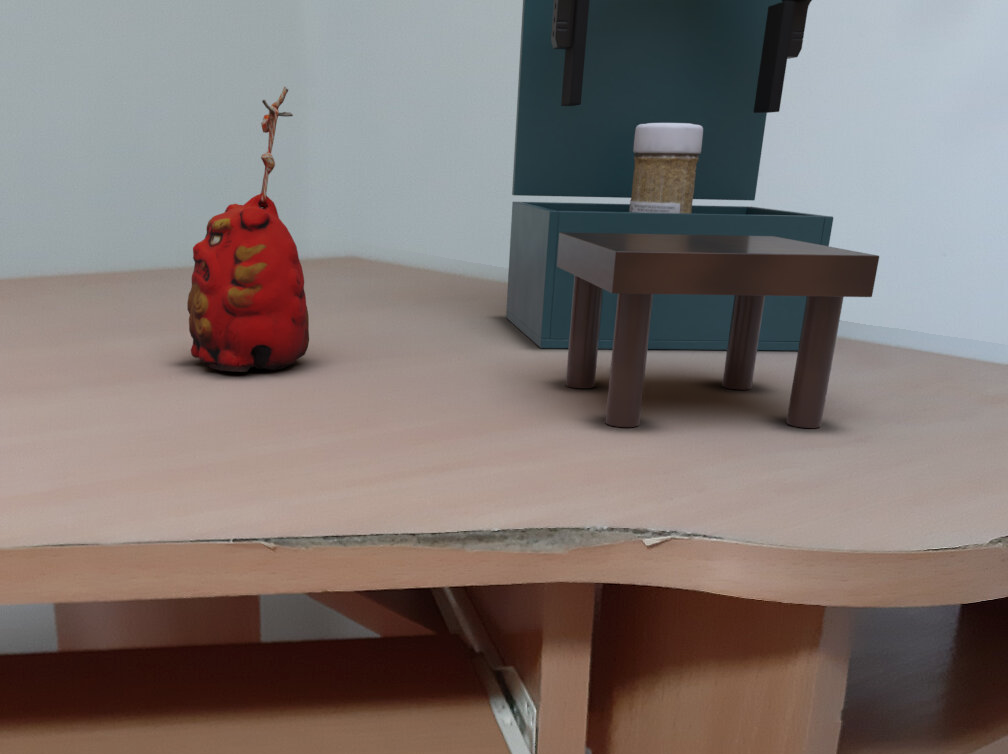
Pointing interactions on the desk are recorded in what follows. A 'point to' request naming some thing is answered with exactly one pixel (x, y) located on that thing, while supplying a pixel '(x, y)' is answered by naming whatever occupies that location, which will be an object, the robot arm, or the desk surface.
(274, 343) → the red clay folk toy
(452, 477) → the desk surface
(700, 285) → the stool
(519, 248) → the chest
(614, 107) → the chest lid
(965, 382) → the desk surface
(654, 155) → the tan spice jar
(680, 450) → the desk surface
